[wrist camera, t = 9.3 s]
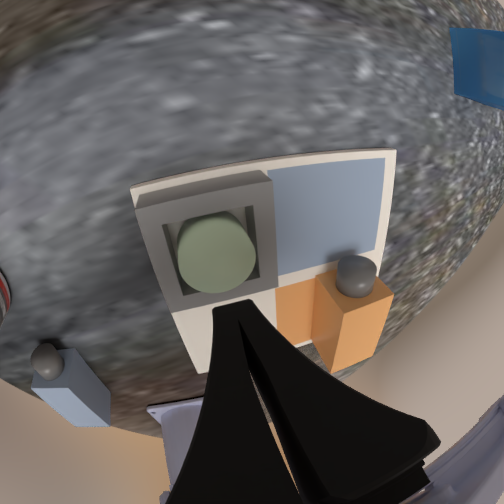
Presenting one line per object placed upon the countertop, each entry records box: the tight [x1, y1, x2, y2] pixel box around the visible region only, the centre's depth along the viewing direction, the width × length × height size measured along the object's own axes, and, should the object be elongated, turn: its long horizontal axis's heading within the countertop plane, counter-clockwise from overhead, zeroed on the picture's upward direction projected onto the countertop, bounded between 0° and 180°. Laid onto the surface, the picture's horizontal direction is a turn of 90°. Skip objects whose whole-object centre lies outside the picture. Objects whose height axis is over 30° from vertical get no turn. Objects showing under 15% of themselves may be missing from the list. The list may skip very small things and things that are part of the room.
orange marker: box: [311, 255, 394, 374], centre depth 19 cm, size 8×4×4 cm, turn 6°
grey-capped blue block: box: [30, 343, 111, 427], centre depth 17 cm, size 8×4×4 cm, turn 4°
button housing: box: [135, 170, 279, 313], centre depth 14 cm, size 6×6×2 cm
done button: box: [177, 211, 256, 293], centre depth 13 cm, size 4×4×2 cm
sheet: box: [130, 148, 396, 374], centre depth 18 cm, size 16×16×1 cm
